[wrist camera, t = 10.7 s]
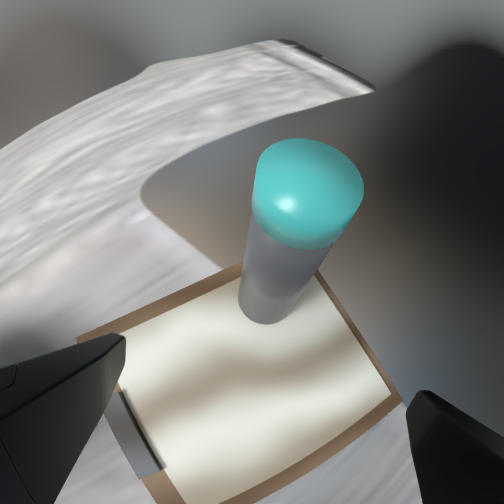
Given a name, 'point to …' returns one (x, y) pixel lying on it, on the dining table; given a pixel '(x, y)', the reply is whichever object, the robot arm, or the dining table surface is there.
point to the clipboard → (239, 391)
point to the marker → (294, 223)
